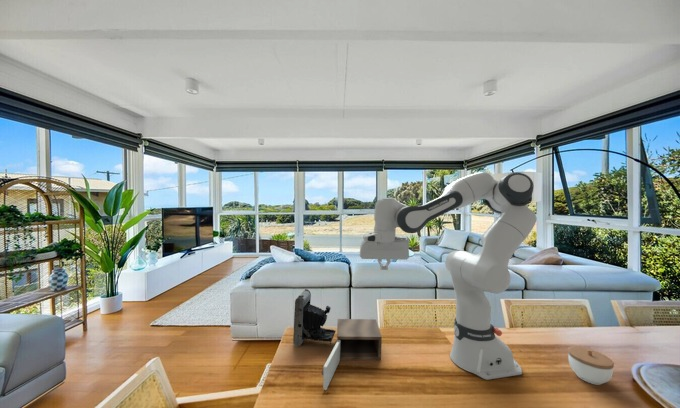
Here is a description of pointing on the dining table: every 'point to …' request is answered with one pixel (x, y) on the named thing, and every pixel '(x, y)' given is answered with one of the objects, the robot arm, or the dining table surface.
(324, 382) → the door
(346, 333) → the case
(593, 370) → the lidded jar
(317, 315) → the vintage camera
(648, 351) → the dining table surface
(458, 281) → the robot arm
